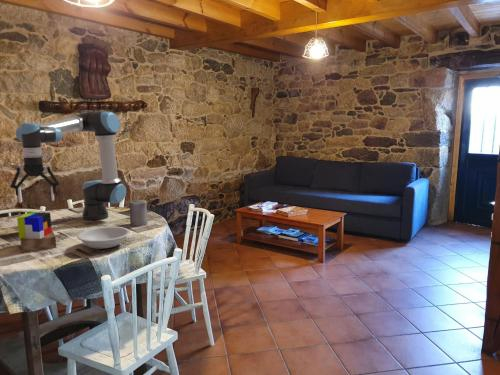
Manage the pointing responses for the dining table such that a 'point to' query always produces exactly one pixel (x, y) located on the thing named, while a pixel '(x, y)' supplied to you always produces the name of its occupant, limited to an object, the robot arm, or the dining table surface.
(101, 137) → the robot arm
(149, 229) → the dining table surface
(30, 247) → the walnut base block
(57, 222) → the dining table surface
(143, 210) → the pillar candle
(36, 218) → the puzzle toy
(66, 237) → the dining table surface
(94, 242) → the soup bowl
